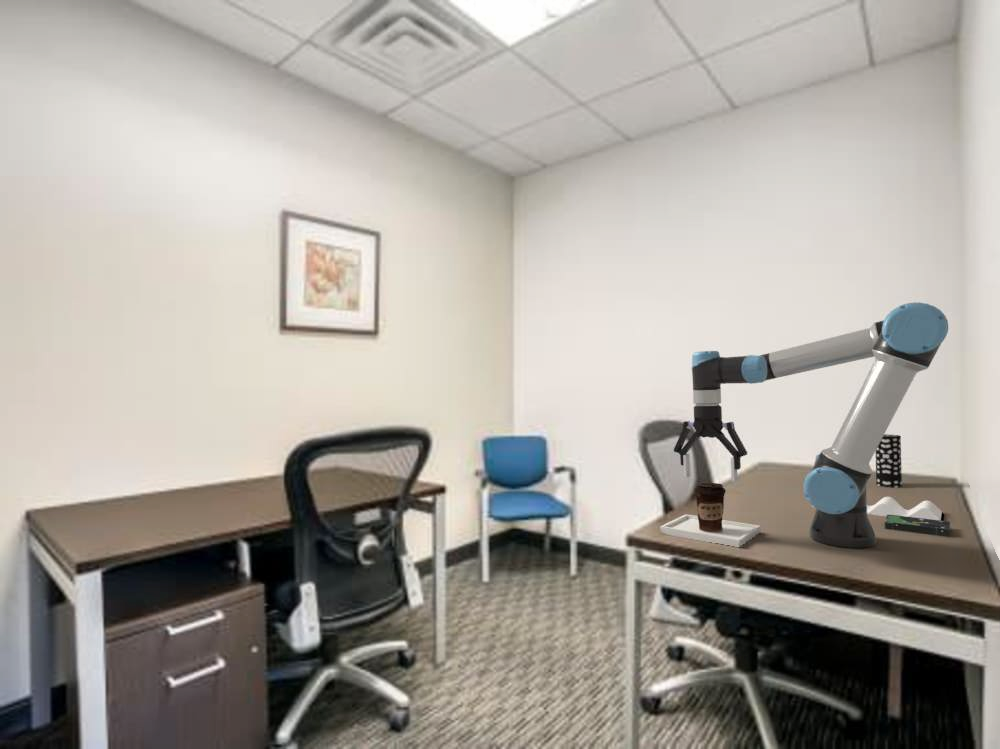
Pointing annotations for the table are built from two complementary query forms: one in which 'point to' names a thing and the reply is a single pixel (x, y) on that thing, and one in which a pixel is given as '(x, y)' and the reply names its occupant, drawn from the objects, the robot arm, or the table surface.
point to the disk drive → (918, 525)
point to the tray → (730, 535)
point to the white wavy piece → (893, 508)
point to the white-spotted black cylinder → (889, 462)
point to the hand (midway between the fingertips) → (710, 479)
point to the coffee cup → (710, 506)
